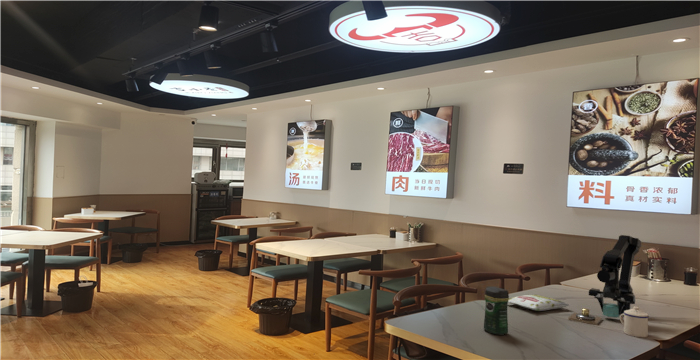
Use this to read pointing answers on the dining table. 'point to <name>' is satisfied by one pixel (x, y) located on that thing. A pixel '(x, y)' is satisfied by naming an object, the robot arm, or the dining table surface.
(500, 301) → the coffee jar
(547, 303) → the frozen beans
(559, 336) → the dining table surface
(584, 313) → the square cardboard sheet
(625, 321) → the teacup with lid
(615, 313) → the cap
